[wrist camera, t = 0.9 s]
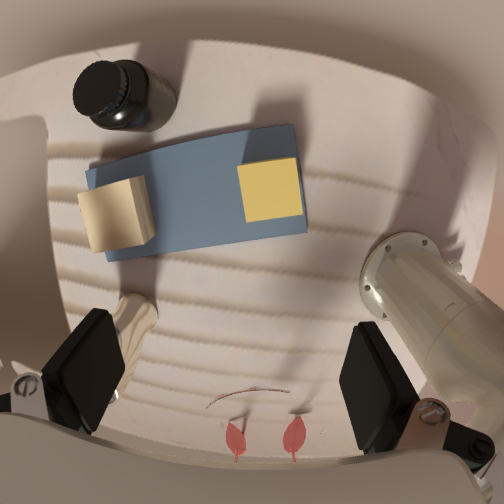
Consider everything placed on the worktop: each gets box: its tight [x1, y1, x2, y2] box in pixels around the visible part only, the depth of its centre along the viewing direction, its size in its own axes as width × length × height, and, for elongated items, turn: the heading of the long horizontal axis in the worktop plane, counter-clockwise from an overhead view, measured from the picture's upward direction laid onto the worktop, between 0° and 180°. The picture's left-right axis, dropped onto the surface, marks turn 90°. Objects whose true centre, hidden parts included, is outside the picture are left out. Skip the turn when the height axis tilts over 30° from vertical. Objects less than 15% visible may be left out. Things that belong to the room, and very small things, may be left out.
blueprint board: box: [85, 124, 307, 262], centre depth 31 cm, size 25×12×1 cm, turn 99°
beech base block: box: [77, 175, 157, 254], centre depth 29 cm, size 7×7×4 cm
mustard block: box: [237, 157, 303, 223], centre depth 27 cm, size 5×5×6 cm
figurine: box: [206, 388, 323, 462], centre depth 27 cm, size 15×26×35 cm, turn 96°
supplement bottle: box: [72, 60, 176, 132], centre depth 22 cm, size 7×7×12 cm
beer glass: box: [107, 293, 158, 407], centre depth 29 cm, size 7×7×15 cm
